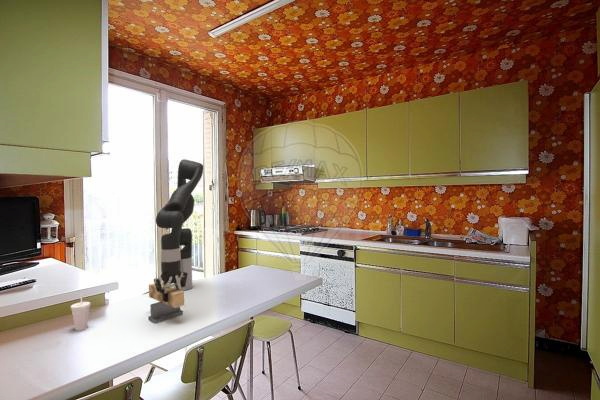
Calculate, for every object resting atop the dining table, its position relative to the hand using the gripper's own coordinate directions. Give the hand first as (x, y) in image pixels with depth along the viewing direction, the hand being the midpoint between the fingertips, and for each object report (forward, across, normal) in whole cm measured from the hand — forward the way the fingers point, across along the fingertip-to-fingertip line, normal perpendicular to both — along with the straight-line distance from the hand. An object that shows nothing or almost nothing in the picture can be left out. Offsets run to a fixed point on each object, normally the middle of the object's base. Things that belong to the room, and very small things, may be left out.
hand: (171, 299), depth 127 cm
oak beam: (+2, 0, -5) cm, 5 cm away
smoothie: (+9, +26, -21) cm, 35 cm away
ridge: (+9, 0, -5) cm, 10 cm away
